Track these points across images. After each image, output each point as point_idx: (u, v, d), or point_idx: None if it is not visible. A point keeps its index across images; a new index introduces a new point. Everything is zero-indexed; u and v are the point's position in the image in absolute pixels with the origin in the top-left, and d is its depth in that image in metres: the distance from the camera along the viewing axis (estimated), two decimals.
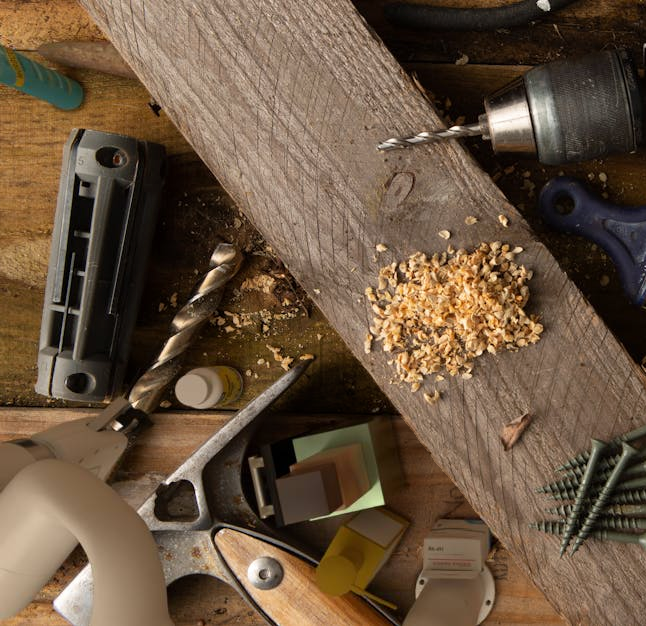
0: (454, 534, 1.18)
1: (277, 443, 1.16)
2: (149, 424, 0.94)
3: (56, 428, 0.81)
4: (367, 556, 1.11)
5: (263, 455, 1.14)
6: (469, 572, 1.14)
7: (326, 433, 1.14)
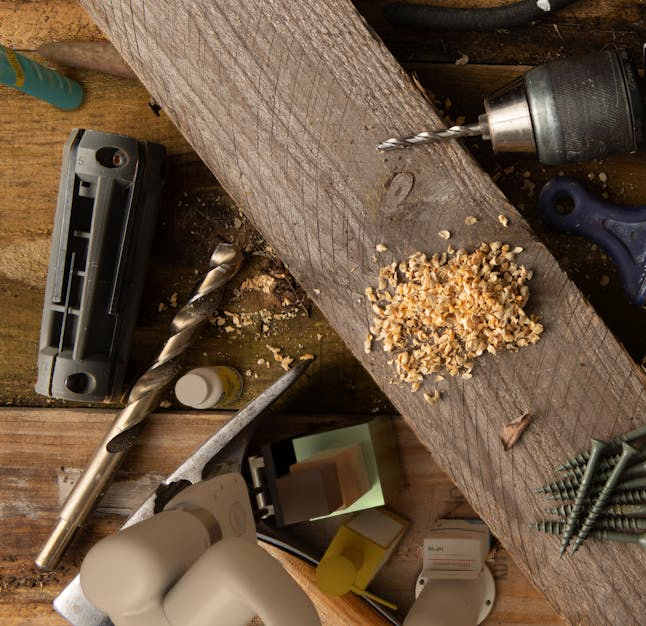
0: (454, 534, 1.18)
1: (277, 443, 1.16)
2: (259, 487, 1.00)
3: (176, 495, 0.86)
4: (367, 556, 1.11)
5: (263, 455, 1.14)
6: (469, 573, 1.14)
7: (326, 433, 1.14)
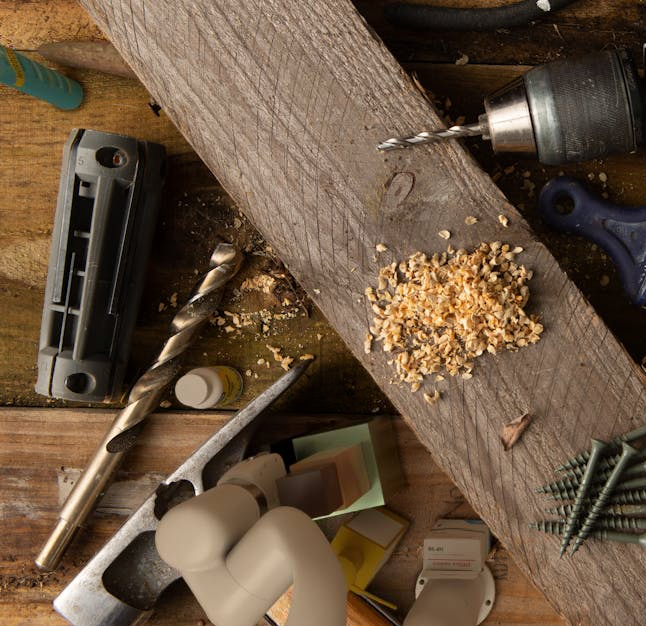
0: (454, 534, 1.18)
1: (277, 443, 1.16)
2: None
3: (227, 472, 0.99)
4: (367, 556, 1.11)
5: None
6: (469, 573, 1.14)
7: (326, 433, 1.14)
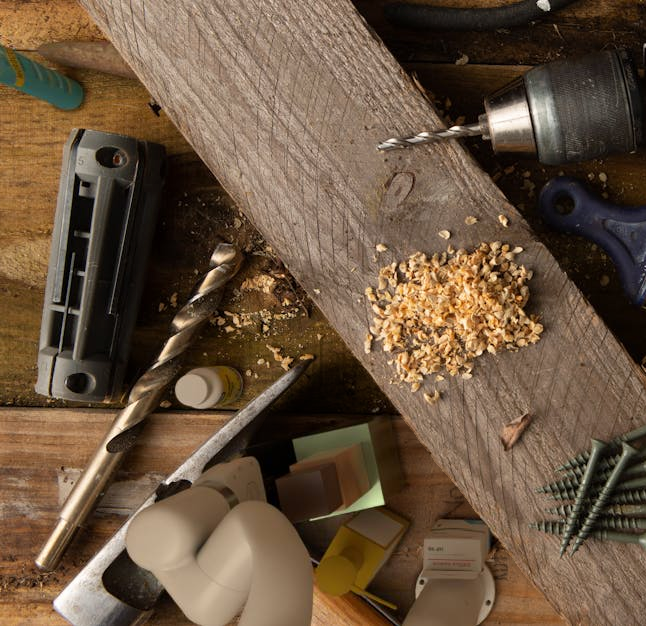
0: (454, 534, 1.18)
1: (256, 447, 1.17)
2: (271, 477, 1.15)
3: (201, 474, 1.01)
4: (367, 556, 1.11)
5: None
6: (469, 573, 1.14)
7: (326, 433, 1.14)
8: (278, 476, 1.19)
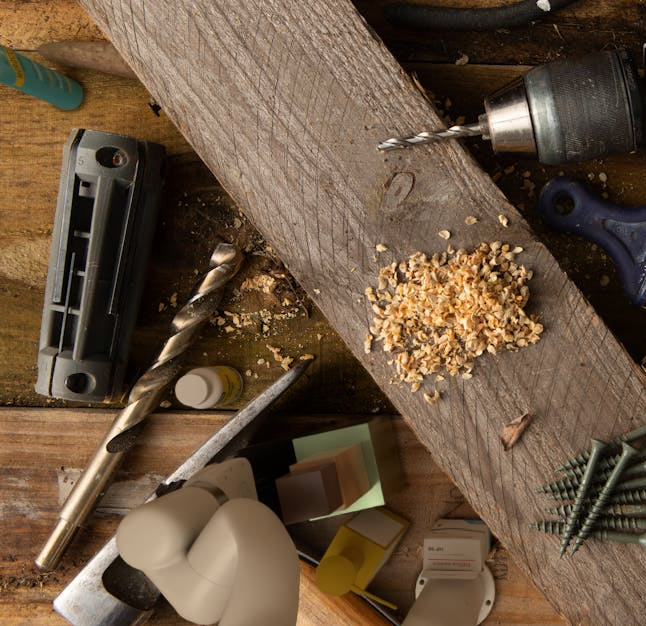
0: (454, 534, 1.18)
1: (249, 448, 1.18)
2: (263, 478, 1.16)
3: (193, 475, 1.02)
4: (367, 556, 1.11)
5: None
6: (469, 573, 1.14)
7: (326, 433, 1.14)
8: (273, 477, 1.20)
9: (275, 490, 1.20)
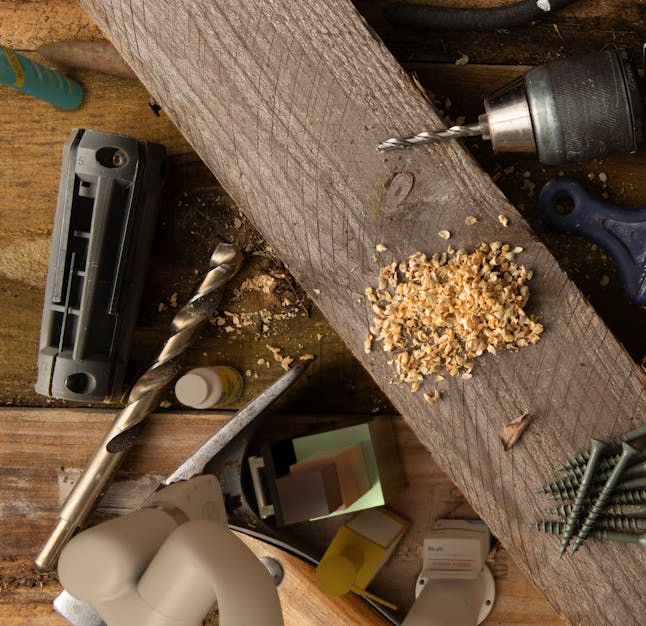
0: (454, 534, 1.18)
1: (277, 443, 1.16)
2: (236, 496, 1.07)
3: (153, 495, 0.93)
4: (367, 556, 1.11)
5: (263, 455, 1.14)
6: (469, 573, 1.14)
7: (326, 433, 1.14)
8: None
9: None
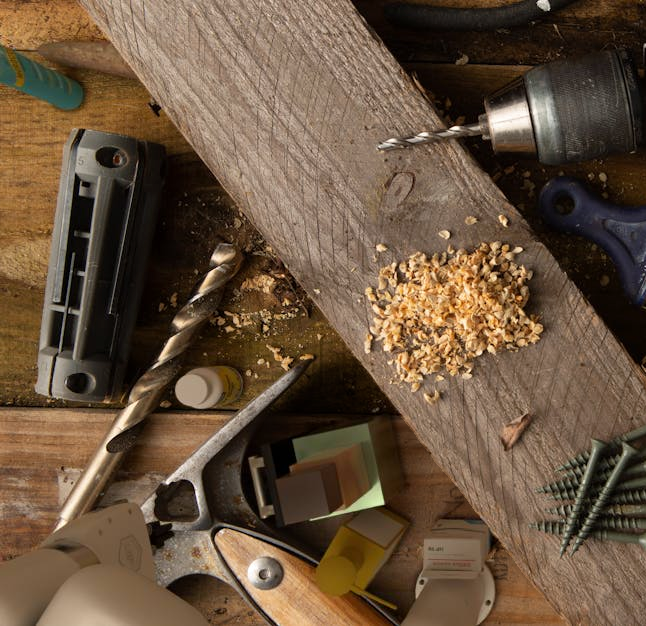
0: (454, 534, 1.18)
1: (277, 443, 1.16)
2: (166, 525, 0.92)
3: (57, 530, 0.78)
4: (367, 556, 1.11)
5: (263, 455, 1.14)
6: (469, 573, 1.14)
7: (326, 433, 1.14)
8: None
9: None
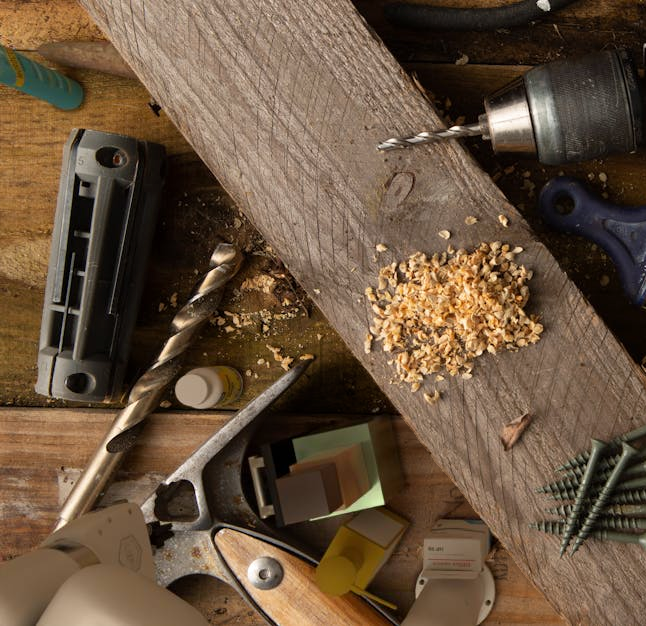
0: (454, 534, 1.18)
1: (277, 443, 1.16)
2: (166, 524, 0.92)
3: (57, 530, 0.78)
4: (367, 556, 1.11)
5: (263, 455, 1.14)
6: (469, 573, 1.14)
7: (326, 433, 1.14)
8: None
9: None
